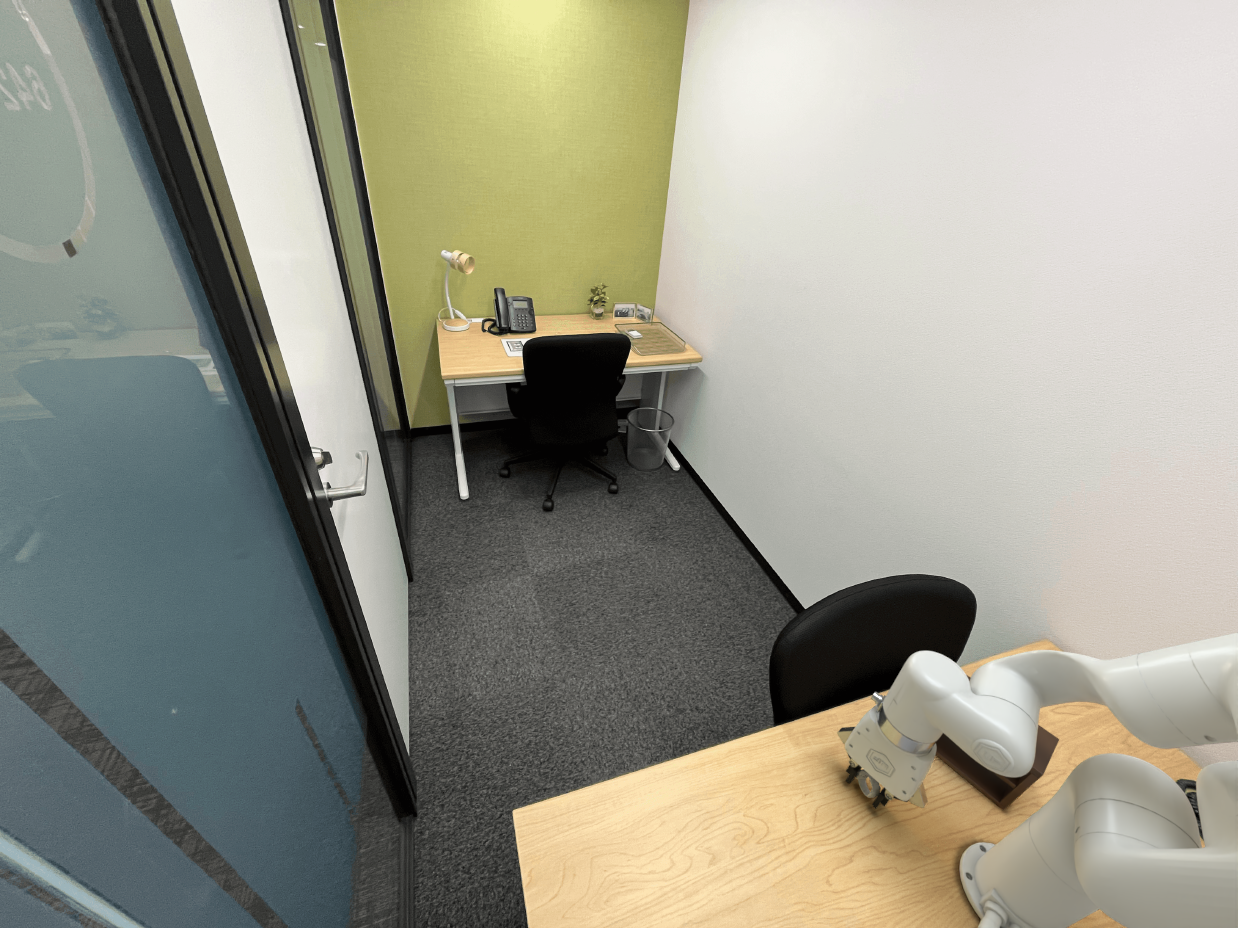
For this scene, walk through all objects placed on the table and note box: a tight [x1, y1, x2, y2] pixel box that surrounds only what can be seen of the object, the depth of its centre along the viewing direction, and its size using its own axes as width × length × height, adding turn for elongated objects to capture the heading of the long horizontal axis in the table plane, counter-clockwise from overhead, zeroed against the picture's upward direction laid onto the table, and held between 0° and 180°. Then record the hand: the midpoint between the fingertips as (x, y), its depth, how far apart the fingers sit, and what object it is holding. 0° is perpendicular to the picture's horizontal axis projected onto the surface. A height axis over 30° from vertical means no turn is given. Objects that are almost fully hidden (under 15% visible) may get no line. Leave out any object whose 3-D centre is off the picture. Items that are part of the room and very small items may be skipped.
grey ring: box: [855, 768, 882, 799], centre depth 79 cm, size 4×2×4 cm, turn 8°
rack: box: [935, 674, 1060, 811], centre depth 83 cm, size 9×14×12 cm, turn 39°
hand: (865, 788), depth 80 cm, fingers closed on grey ring, 3 cm apart
